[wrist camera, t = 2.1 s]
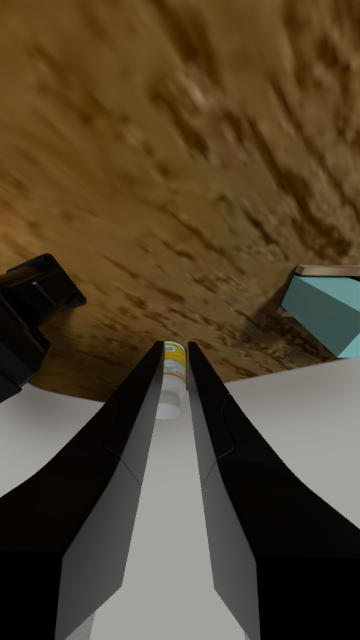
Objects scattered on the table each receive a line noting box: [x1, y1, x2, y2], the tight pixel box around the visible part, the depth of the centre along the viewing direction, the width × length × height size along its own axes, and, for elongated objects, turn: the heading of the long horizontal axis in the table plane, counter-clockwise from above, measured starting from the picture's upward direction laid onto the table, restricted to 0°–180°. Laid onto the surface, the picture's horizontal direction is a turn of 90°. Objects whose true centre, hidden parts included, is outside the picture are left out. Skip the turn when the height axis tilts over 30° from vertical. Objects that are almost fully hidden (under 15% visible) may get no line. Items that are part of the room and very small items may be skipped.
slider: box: [281, 276, 360, 358], centre depth 15 cm, size 8×4×9 cm, turn 89°
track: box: [277, 265, 360, 317], centre depth 19 cm, size 9×6×1 cm
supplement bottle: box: [156, 341, 186, 419], centre depth 22 cm, size 5×5×10 cm
